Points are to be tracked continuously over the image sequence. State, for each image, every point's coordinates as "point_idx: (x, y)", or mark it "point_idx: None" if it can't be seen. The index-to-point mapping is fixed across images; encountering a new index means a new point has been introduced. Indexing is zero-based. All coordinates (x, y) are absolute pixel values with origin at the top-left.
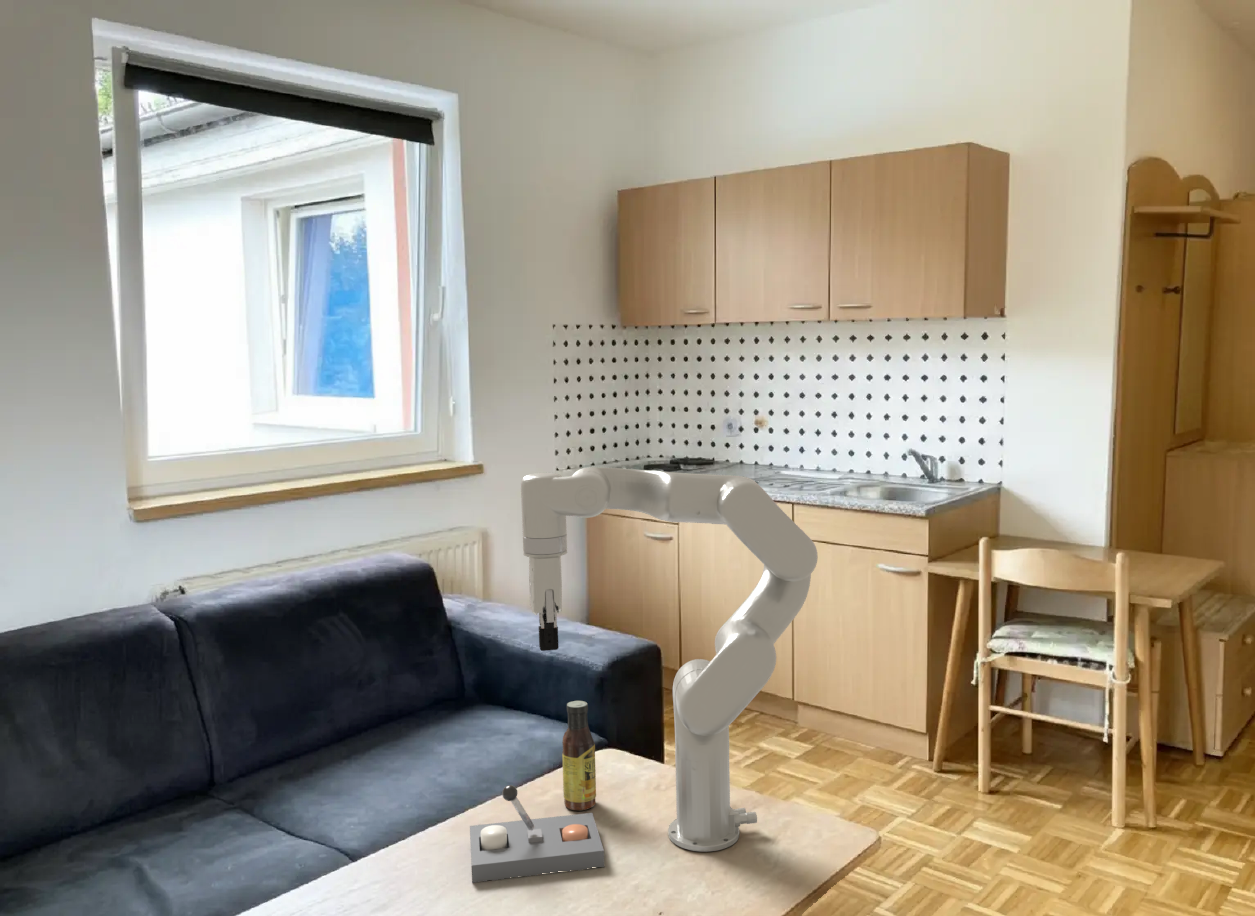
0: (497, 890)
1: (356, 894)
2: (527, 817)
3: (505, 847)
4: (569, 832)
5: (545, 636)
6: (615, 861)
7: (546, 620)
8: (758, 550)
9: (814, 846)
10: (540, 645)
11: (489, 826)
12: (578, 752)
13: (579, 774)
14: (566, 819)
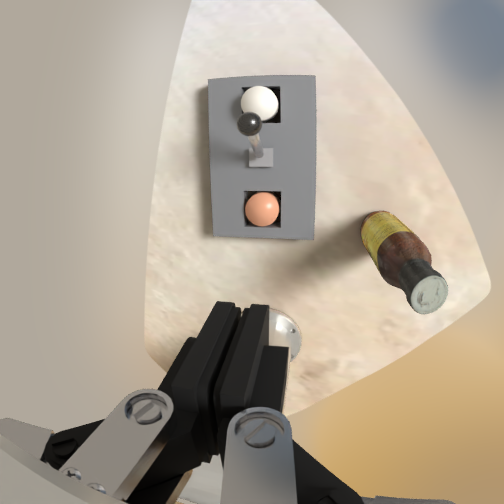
0: (193, 110)
1: None
2: (253, 149)
3: None
4: (256, 202)
5: (171, 373)
6: (229, 243)
7: (29, 437)
8: None
9: None
10: (210, 315)
11: (274, 97)
12: (379, 256)
13: (370, 243)
14: (303, 204)
